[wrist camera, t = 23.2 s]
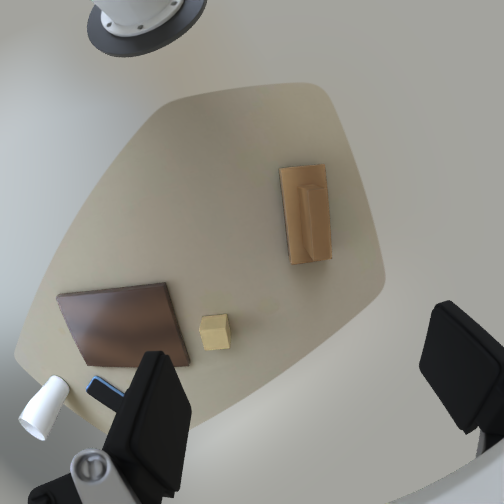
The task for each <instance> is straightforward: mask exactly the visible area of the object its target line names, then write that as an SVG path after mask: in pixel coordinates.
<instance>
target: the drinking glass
mask: <svg viewBox="0 0 504 504" xmlns="http://www.w3.org/2000/svg"><path fill="white" fill-rule="evenodd" d="M68 393H69V386H68V385H67V383H66V382H65V381H64V380H63V379H62V378H60V377H58V376H55V375H53V376H51V377H50V378H49V379H48V381H47V382H46V383H45V384H44V386H43V387H42V388H41V389H40V390H39V391H38V392H37V394H36V395H35V396H34V397H33V398H32V399H31V401H30V402H29V403H28V404H27V405H26V407H25V408H24V410H23V411H22V413H21V415H20V417H19V422H20V423H21V425H22V426H23V427H24V428H25V429H26V430H27V431H28V432H29V433H30V434H32V435H33V436H34V437H36V438H38V439H40V440H43V441H45V440H46V438H47V437H48V435H49V433H50V432H51V430H52V428H53V426H54V423H55V421H56V419H57V417H58V414H59V412H60V410H61V407H62V405H63V403H64V401H65V399H66V397H67V395H68Z"/></svg>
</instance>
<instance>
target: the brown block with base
mask: <svg viewBox="0 0 504 504" xmlns="http://www.w3.org/2000/svg"><path fill="white" fill-rule="evenodd" d="M279 176H280V184H281V192H282V200H283V208H284V217H285V226H286V235H287V245H288V255H289V260H290V262H291V264H292V265H294V264H301V263H308V262H315V261H321V260H328V259H332V248H331V230H330V215H329V202H328V190H327V180H326V170H325V164H317V165H306V166H296V167H286V168H279Z"/></svg>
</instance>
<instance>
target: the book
mask: <svg viewBox="0 0 504 504" xmlns="http://www.w3.org/2000/svg"><path fill="white" fill-rule="evenodd" d="M56 300H57V302H58V305H59V307H60V310H61V312H62V314H63V317H64V319H65V321H66V324H67V326H68V328H69V330H70V332H71V334H72V337H73V339H74V341H75V343H76V345H77V347H78V349H79V351H80V353H81V355H82V356H83V358H84V360H85V362H86V364H87V366H102V367H138V366H139V364H140V362H141V360H142V358H143V355H144V353H145V352H146V351H163V352H164V354H165V355H169V356H170V358H171V361H172V363H173V366H174V367H182V366H189V364H190V360H189V357H188V354H187V351H186V348H185V345H184V342H183V339H182V336H181V333H180V330H179V327H178V324H177V320H176V317H175V314H174V311H173V307H172V304H171V301H170V297H169V294H168V290H167V286H166V283H165V282H164V283H156V284H148V285H139V286H131V287H122V288H113V289H104V290H95V291H86V292H76V293H66V294H59V295H58V296H57V297H56Z"/></svg>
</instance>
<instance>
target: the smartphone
mask: <svg viewBox="0 0 504 504" xmlns="http://www.w3.org/2000/svg"><path fill="white" fill-rule="evenodd" d="M86 392H87V393H88V394H89V395H91V396H92V397H94V398H95V399H97V400H98V401H99V402H101V403H102V404H104V405H105V406H107V407H108V408H110V409H112V410H113V411H115V412H116V413H117V411H118V408H119V406H120V404H121V401H122V399H123V397H124V394H123V393H121V392H120V391H118V390H117V389H115V388H114V387H112V386H111V385H110V384H108V383H107V382H105V381H104V380H102V379H101V378H99V377H97V376H95V377H93V379H92V380H91V382H90V383H89V385H88V386H87V388H86Z"/></svg>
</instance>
